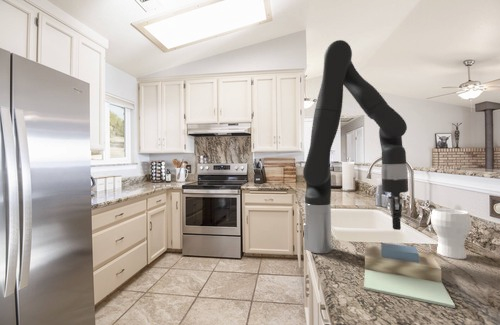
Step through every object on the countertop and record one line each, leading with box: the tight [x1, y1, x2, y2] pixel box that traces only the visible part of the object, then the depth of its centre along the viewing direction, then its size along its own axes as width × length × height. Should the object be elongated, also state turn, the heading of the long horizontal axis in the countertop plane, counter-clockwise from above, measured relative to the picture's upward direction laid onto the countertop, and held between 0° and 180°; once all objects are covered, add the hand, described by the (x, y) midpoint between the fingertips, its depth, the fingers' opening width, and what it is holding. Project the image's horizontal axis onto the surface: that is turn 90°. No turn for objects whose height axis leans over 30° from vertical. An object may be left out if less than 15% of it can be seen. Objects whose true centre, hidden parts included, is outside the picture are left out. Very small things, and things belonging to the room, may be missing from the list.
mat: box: [363, 268, 456, 309], centre depth 60 cm, size 18×11×1 cm, turn 62°
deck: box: [364, 244, 442, 283], centre depth 71 cm, size 18×12×4 cm, turn 62°
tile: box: [380, 242, 419, 263], centre depth 70 cm, size 9×6×2 cm, turn 62°
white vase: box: [430, 208, 472, 260], centre depth 81 cm, size 11×11×15 cm
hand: (396, 229), depth 79 cm, fingers closed
